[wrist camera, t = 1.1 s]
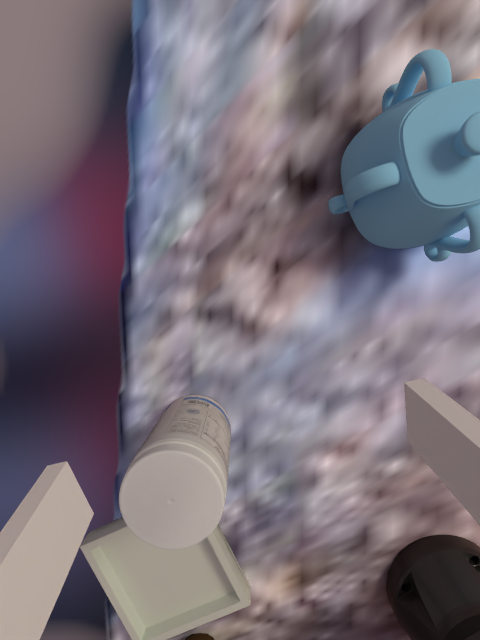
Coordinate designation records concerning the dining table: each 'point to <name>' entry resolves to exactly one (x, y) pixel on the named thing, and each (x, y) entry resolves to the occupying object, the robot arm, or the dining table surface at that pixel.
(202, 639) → the kendama
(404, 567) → the robot arm
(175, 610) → the sage tray
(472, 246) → the decorative pot
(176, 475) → the supplement tub
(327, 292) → the dining table surface
